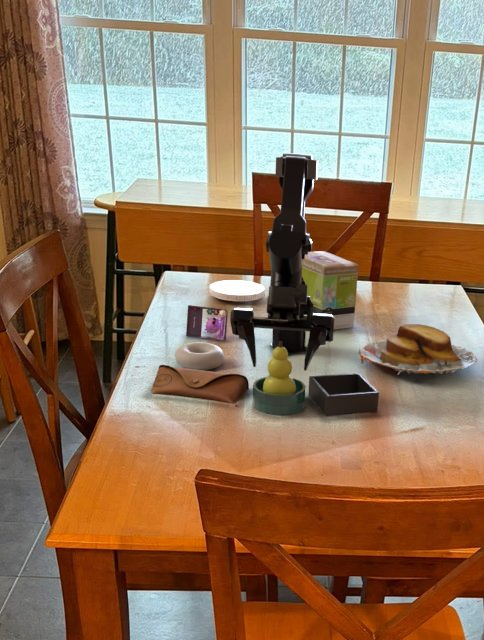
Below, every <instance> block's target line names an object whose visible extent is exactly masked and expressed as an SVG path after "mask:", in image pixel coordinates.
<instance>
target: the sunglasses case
mask: <svg viewBox="0 0 484 640" xmlns="http://www.w3.org/2000/svg"><path fill="white" fill-rule="evenodd" d="M249 388H250V384H249V379H248V378H247V377H246V375H244V374H240V373H223V372H216V371H209V370H195V369H188V368H185V367H175V366H173V365H168V364H160V365H159V366H158V369H157V372H156V375H155V378H154V381H153V384H152V386H151V390H150V391H151V392H150V393H151V394H153V395H162V396H172V397H182V398H190V399H199V400H205V401H212V402H213V401H214V402H220V403H225V404H232V405H235V404H236V403H237V402H238V401H239V400H240V399H241V398H242V397H243V395H244V394H245V393H246V392H247V390H249Z"/></svg>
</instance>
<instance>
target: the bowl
mask: <svg viewBox="0 0 484 640" xmlns="http://www.w3.org/2000/svg"><path fill="white" fill-rule="evenodd" d="M267 377H268V376H265V377H261V378H258V379H256V380H255V381H254V382H253V384H252V406H253V407H254V408H255V409H256V410H257V411H259V412H261V413H264V414H268V415H276V416H289V415H293V414H297V413H300V412H302V411H303V410H304V409H305V406H306V390H307V389H306V387H307V386H306V385H305V383H304V382H302V381H301V380H299V379H297V378H294V377H292V379H293V380H294V382H295V386H296V391H295V393H294V394H289V395H275V394H269V393H265V392H263V384H264V381H265V379H266V378H267Z"/></svg>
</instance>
